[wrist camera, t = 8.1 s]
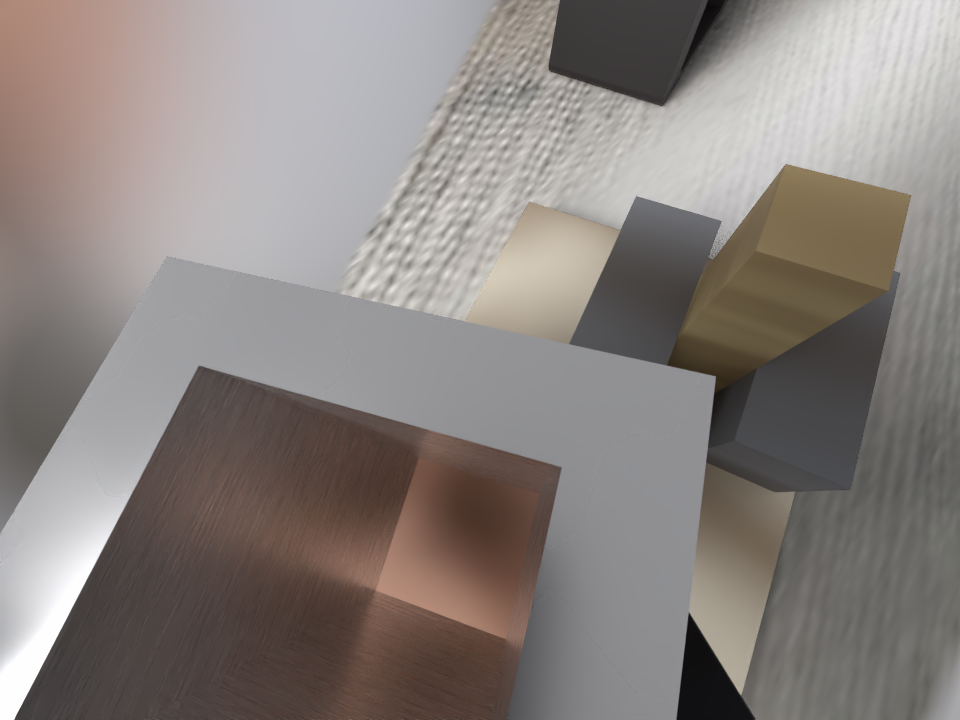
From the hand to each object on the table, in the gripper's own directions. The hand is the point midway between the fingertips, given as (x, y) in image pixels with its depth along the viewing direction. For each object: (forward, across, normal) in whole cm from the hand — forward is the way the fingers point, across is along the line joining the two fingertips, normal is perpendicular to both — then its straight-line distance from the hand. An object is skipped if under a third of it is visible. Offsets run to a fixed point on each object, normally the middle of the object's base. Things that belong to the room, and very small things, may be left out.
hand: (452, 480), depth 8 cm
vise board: (+6, -3, +3) cm, 8 cm away
